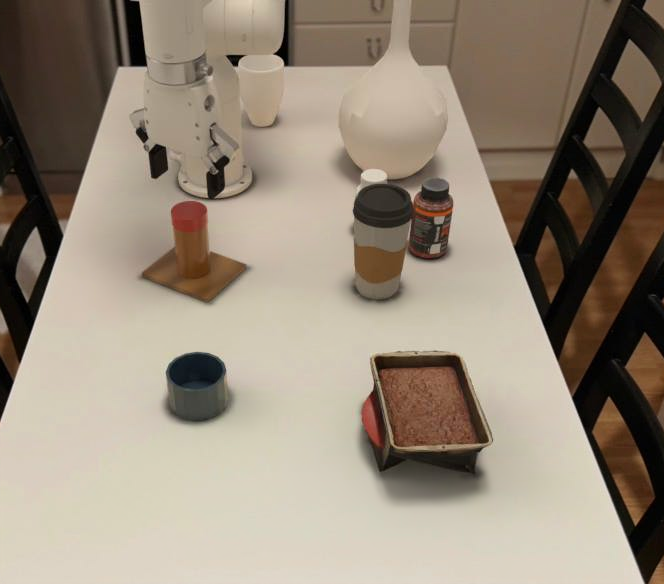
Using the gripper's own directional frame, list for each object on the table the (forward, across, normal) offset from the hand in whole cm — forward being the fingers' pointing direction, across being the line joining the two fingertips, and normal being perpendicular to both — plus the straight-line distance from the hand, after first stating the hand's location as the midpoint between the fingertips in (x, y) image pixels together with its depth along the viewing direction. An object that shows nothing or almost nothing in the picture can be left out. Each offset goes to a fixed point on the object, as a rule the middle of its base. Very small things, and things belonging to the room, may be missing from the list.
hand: (187, 184), depth 127 cm
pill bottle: (+15, -18, -23) cm, 33 cm away
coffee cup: (+14, -26, -10) cm, 31 cm away
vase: (+16, -11, -43) cm, 47 cm away
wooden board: (+14, 0, +1) cm, 14 cm away
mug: (+16, +18, -47) cm, 53 cm away
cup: (+14, -18, +24) cm, 32 cm away
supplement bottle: (+15, -28, -23) cm, 39 cm away
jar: (+14, -1, +1) cm, 14 cm away
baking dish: (+14, -44, +15) cm, 49 cm away
